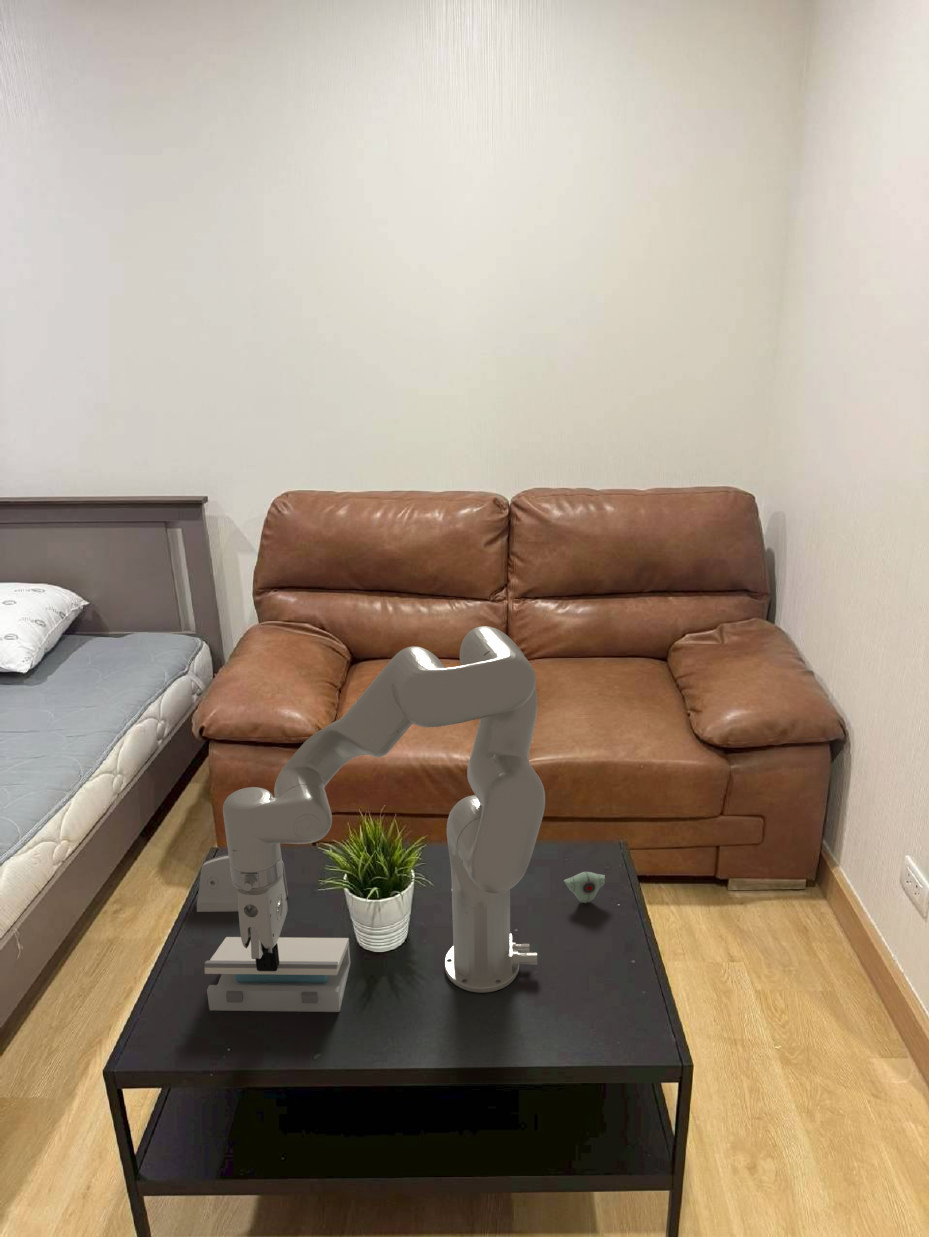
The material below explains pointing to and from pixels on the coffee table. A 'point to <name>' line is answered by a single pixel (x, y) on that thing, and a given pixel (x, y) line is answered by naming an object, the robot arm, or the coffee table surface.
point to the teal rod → (281, 978)
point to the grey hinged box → (280, 994)
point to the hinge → (219, 886)
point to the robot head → (585, 885)
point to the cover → (281, 957)
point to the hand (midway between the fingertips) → (268, 967)
